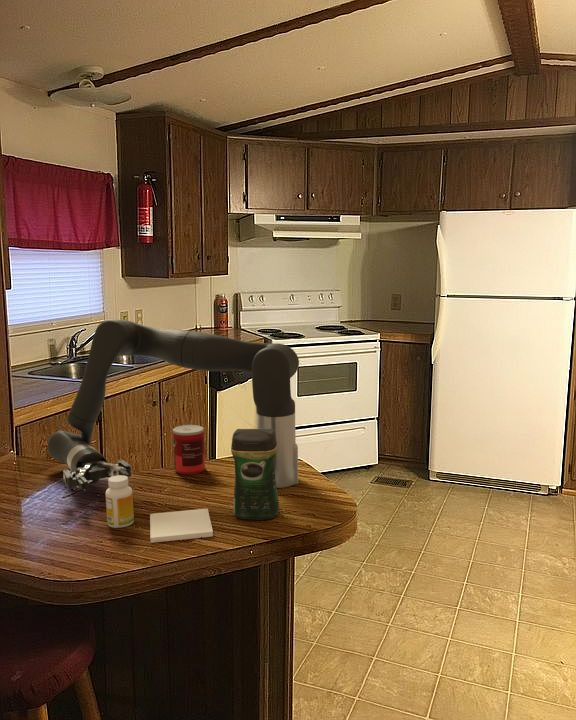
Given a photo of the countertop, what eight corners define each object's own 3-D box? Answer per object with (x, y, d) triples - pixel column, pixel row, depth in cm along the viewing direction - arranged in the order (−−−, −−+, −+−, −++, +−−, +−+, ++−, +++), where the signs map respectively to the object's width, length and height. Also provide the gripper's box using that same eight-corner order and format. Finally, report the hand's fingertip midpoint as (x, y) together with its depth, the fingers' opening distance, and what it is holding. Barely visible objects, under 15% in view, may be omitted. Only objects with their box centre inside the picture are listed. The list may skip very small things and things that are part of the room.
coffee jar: (280, 507, 143) (279, 424, 140) (276, 522, 136) (275, 434, 133) (236, 506, 144) (234, 424, 141) (230, 521, 137) (227, 434, 134)
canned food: (187, 463, 174) (185, 423, 172) (211, 468, 170) (210, 427, 168) (168, 472, 167) (166, 430, 166) (192, 477, 163) (191, 434, 161)
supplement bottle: (137, 518, 139) (135, 474, 137) (129, 529, 133) (126, 483, 132) (112, 517, 139) (110, 473, 138) (103, 528, 134) (100, 482, 132)
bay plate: (207, 512, 141) (207, 508, 141) (213, 536, 129) (212, 531, 129) (150, 518, 139) (150, 513, 138) (150, 542, 127) (150, 537, 127)
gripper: (54, 453, 152) (71, 472, 139) (115, 442, 160) (137, 460, 146) (56, 484, 154) (74, 506, 140) (117, 472, 161) (139, 492, 147)
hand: (106, 482), depth 143 cm, fingers open, 8 cm apart
